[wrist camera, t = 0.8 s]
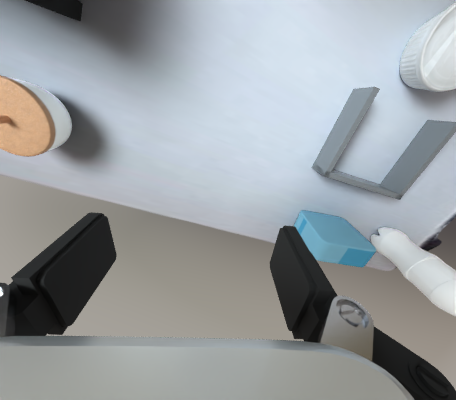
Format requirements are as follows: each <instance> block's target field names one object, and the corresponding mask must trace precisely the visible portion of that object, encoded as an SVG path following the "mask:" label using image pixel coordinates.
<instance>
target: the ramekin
mask: <svg viewBox="0 0 456 400" xmlns="http://www.w3.org/2000/svg"><path fill="white" fill-rule="evenodd" d="M399 69H400V75H401V78H402V80H403V81H404V82H405V84H407V85H408V86H410V87H413V88H416V89H425V90H429V91H433V92H444V91H450V90H453V89H456V2H455V3H453V4H452V5H451V6H449V7H448V8H447V9H446V10H444V11H443V12H441V13H440V14H438V15H436V16H435V17H433V18H432V19H430V20H428V21H427V22H426V23H425V24H423V25H422V26H421V27H420V28H419V29H418V30H417V31H416V32H415V33H414V34H413V36H412V37H411V38H410V40H409V41H408V43H407V45H406V47H405V48H404V51H403V53H402V56H401V60H400V67H399Z"/></svg>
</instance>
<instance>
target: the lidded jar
mask: <svg viewBox="0 0 456 400" xmlns="http://www.w3.org/2000/svg"><path fill="white" fill-rule="evenodd" d="M71 130H72V122H71V118H70V115H69V113H68V111H67V109H66V108H65V106H64V105H63V104H62V102H61V101H60V100H59V99H58V98H56V97H55V96H54V95H53V94H52V93H50V92H49V91H47V90H45V89H44V88H42V87H40V86H38V85H35V84H32V83H30V82H27V81H23V80H20V79H15V78H10V77H5V76H0V148H1V149H3V150H5V151H7V152H9V153H12V154H15V155H20V156H36V155H39V154H42V153H44V152H47V151H50V150H53V149H55V148H57V147H59V146H61V145H62V144H63V143H65V142H66V141H67V139H68V138H69V136H70V134H71Z"/></svg>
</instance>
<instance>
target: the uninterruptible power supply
mask: <svg viewBox="0 0 456 400" xmlns="http://www.w3.org/2000/svg"><path fill="white" fill-rule="evenodd" d="M25 1H28V2H31V3H33V4H36V5H39V6H41V7H44V8H46V9H49V10H52V11H54V12H57V13H59V14H62V15H65V16H67V17H70V18H73V19H75V20H78V21H81V13H82V5H83V4H82V3H81V2H80V1H79V0H25Z"/></svg>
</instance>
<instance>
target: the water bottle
mask: <svg viewBox="0 0 456 400" xmlns="http://www.w3.org/2000/svg"><path fill="white" fill-rule="evenodd" d="M378 232H379V234H380V235H379V236H378V235H375V234H373V235H371V242H372V245H373V246H374V247H375V248H376V251H377V252H379V253H380V254H382V255H384V256H385V257H387V258H388V259H389V260H390V261H392V262H393V263H394V264H395V265H396V267H397V268H398V269H399V270H400V271H401V273H402V275H403V276H404V277H405V278H406V279H407V280H409V281H410V282H412V284H414V285H415V286H416V287H417V288H418V289H419V290H420V291H421V292H422V293H423V294H424V295H425V296H426V297H427V298H429V300H430V301H431V302H432V303H433V304H434V305H436V306H437V307H439V308H440V309H442V310H444V311H446V312H448V313H450V314H452V315H454V316H456V270H454V269H453V268H451V267H450V266H449V265H447V264H445V263H444V262H443V261H442V260H441V259H440V258H439V257H437V256H436V255H434V254H431V253H429V252H426V251H425V250H423V249H421V248H420V247H418V246H417V245H416V244H414V243H413V242H412V241H411V240H410V239H409V238H408V236H407V235H406V234H404V233H403V232H401V231H400V230H398V229H394V228H388V227H382V228H379V229H378Z"/></svg>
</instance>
